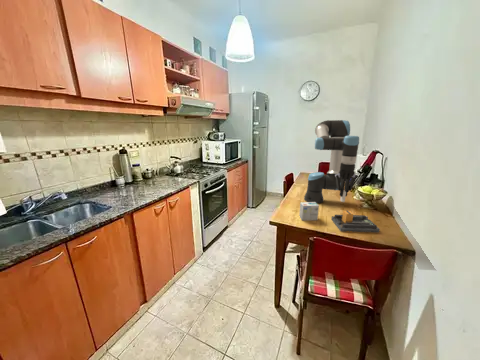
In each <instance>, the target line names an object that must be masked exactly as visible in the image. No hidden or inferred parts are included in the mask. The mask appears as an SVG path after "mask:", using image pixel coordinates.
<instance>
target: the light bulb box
mask: <svg viewBox="0 0 480 360" xmlns="http://www.w3.org/2000/svg"><path fill="white" fill-rule="evenodd" d="M299 204H300V205H299V215H298V216H300V217H299V219H300V220H301V221H318V219H319V209H320V208H319V207H320V205H319V203H316V202H307V201H304V202H303V201H302V202H300V203H299Z"/></svg>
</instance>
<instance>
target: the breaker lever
mask: <svg viewBox="0 0 480 360" xmlns="http://www.w3.org/2000/svg"><path fill="white" fill-rule="evenodd" d="M342 215H343V217H342V220H343V222H344V223H346V222H352V220H353V215H354V213H353V212H352V211H351V210H342Z"/></svg>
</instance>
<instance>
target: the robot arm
mask: <svg viewBox="0 0 480 360" xmlns="http://www.w3.org/2000/svg"><path fill="white" fill-rule="evenodd" d="M314 129H315V130H314V133H315V135H316V138H315V140H314V149H315V150H318V151H330V159H329V170H328V171H327V172H326V174H325V173H324V172H321V171H317V172H315V171H314V172H311V173H309V174H308V177H307V188H306V192H305V195H304V196H303V200H304V202H316V203H317V204H322V203H324V195H323V190H327V191H328V190H329V191H330V190H331V191H339V196H340V198H339V201H340V202H342V203H345V202H346V197H348V193H349V192H351V191H352V190H353V187H354V185H355V183H356V180H357V179H358V177H359V175H357V174H356V173H355V168H356V162H357V157H358V151H359V144H360V136H358V135H350V134H351V124H350V122H349V120H347V119H346V120H343V119H341V120H340V119H339V120H337V119H336V120H334V119H333V120H329V119H328V120H323V121H321V122H319V123H318V124H317V125H316V126H315V128H314Z"/></svg>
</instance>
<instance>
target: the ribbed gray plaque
mask: <svg viewBox="0 0 480 360" xmlns="http://www.w3.org/2000/svg"><path fill="white" fill-rule="evenodd" d="M333 216H334V217H335V218H340V217H341V216H343V214H334V215H333ZM353 216H362V217H363V218H362V219H369V216H367V215H363V214H361V215H360V214H359V215H358V214H353ZM342 226H343V227H348V228H377V227H378V225H376V224H375V225H370V224H342Z"/></svg>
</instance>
